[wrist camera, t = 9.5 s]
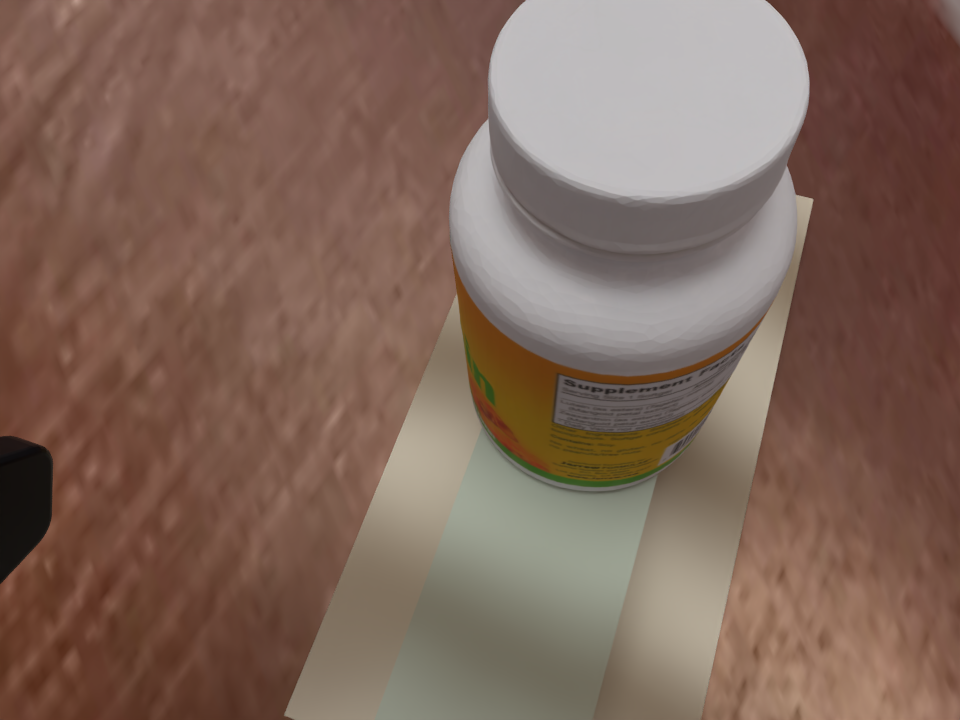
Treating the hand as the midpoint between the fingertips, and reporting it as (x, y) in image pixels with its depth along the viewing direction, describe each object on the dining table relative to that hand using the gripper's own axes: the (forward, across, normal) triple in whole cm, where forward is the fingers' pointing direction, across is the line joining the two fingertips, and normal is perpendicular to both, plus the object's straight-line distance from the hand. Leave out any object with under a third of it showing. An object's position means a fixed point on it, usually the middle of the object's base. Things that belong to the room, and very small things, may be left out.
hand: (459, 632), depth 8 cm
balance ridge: (+15, 0, +4) cm, 15 cm away
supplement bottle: (+12, 0, +2) cm, 12 cm away
